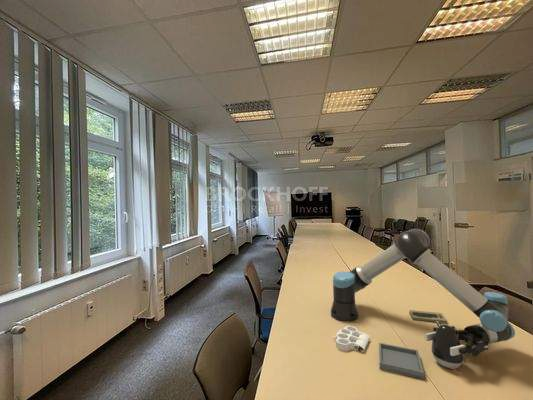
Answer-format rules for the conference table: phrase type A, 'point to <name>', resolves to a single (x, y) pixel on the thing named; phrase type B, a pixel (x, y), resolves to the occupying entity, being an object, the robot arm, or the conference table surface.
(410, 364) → the holder tray
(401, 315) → the conference table surface
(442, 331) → the pump dispenser
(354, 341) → the knuckle duster
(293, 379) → the conference table surface
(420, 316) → the computer
